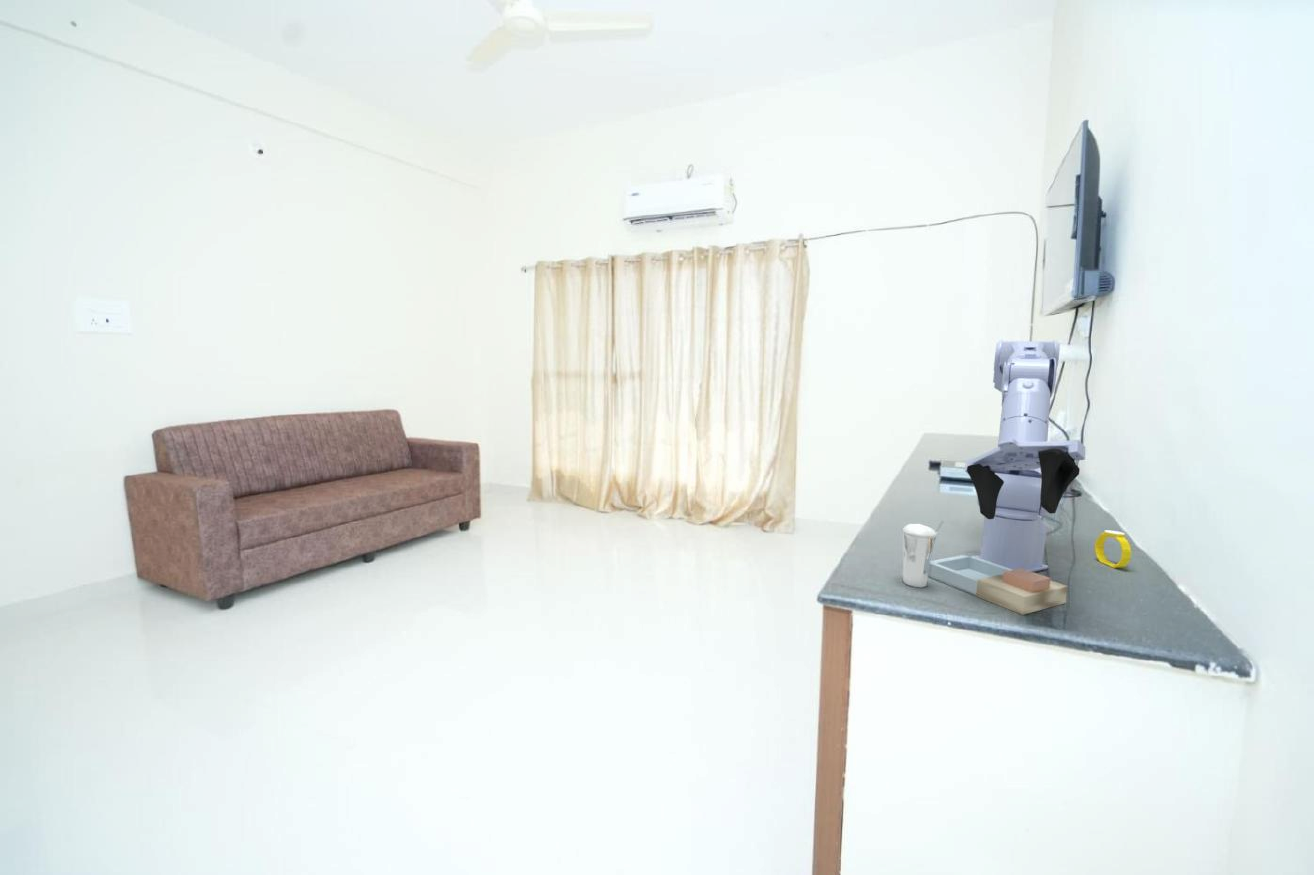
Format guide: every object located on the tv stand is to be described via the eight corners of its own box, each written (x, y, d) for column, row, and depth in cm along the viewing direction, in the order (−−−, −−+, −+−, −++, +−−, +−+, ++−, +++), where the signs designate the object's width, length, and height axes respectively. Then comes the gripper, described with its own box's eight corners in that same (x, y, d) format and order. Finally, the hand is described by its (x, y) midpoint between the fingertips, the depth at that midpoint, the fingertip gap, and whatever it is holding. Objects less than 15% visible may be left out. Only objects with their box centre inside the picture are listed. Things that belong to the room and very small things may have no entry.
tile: (1019, 578, 79) (1021, 568, 79) (1049, 588, 76) (1050, 578, 75) (1002, 582, 77) (1003, 572, 77) (1032, 592, 74) (1033, 582, 74)
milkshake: (941, 591, 80) (947, 525, 78) (902, 587, 81) (908, 522, 79) (932, 580, 84) (938, 517, 83) (895, 576, 85) (900, 514, 84)
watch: (1089, 560, 97) (1091, 527, 96) (1104, 561, 97) (1107, 528, 96) (1117, 570, 91) (1120, 535, 90) (1134, 571, 91) (1137, 536, 90)
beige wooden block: (1018, 586, 83) (1020, 570, 82) (1065, 603, 77) (1067, 586, 77) (976, 596, 78) (977, 579, 78) (1022, 614, 73) (1024, 597, 72)
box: (966, 567, 90) (967, 554, 90) (1018, 586, 83) (1020, 572, 82) (924, 575, 86) (925, 561, 86) (976, 596, 78) (977, 581, 78)
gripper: (957, 425, 82) (945, 504, 76) (1066, 398, 70) (1061, 490, 64) (984, 449, 84) (975, 528, 78) (1094, 427, 72) (1092, 518, 66)
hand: (1016, 512), depth 71 cm, fingers open, 7 cm apart
